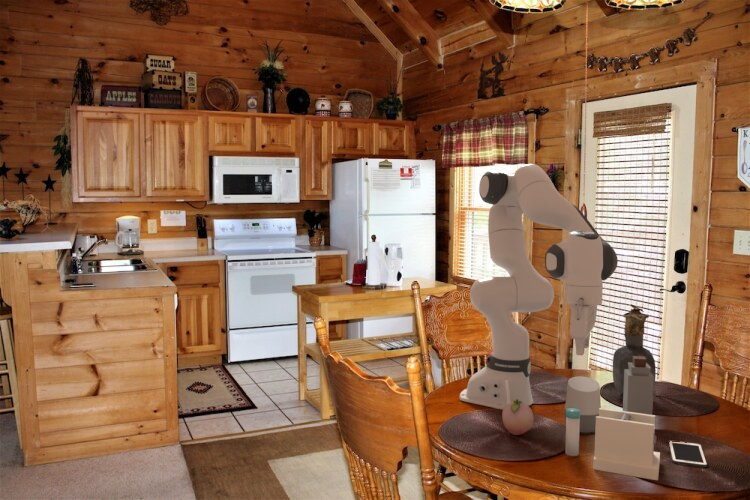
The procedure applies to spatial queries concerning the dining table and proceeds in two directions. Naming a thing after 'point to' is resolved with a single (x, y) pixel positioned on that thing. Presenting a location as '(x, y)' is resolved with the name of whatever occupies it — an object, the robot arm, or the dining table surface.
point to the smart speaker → (584, 401)
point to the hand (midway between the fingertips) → (582, 351)
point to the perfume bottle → (638, 387)
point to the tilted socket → (626, 444)
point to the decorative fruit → (517, 417)
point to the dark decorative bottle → (631, 348)
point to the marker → (572, 431)
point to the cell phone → (687, 453)
